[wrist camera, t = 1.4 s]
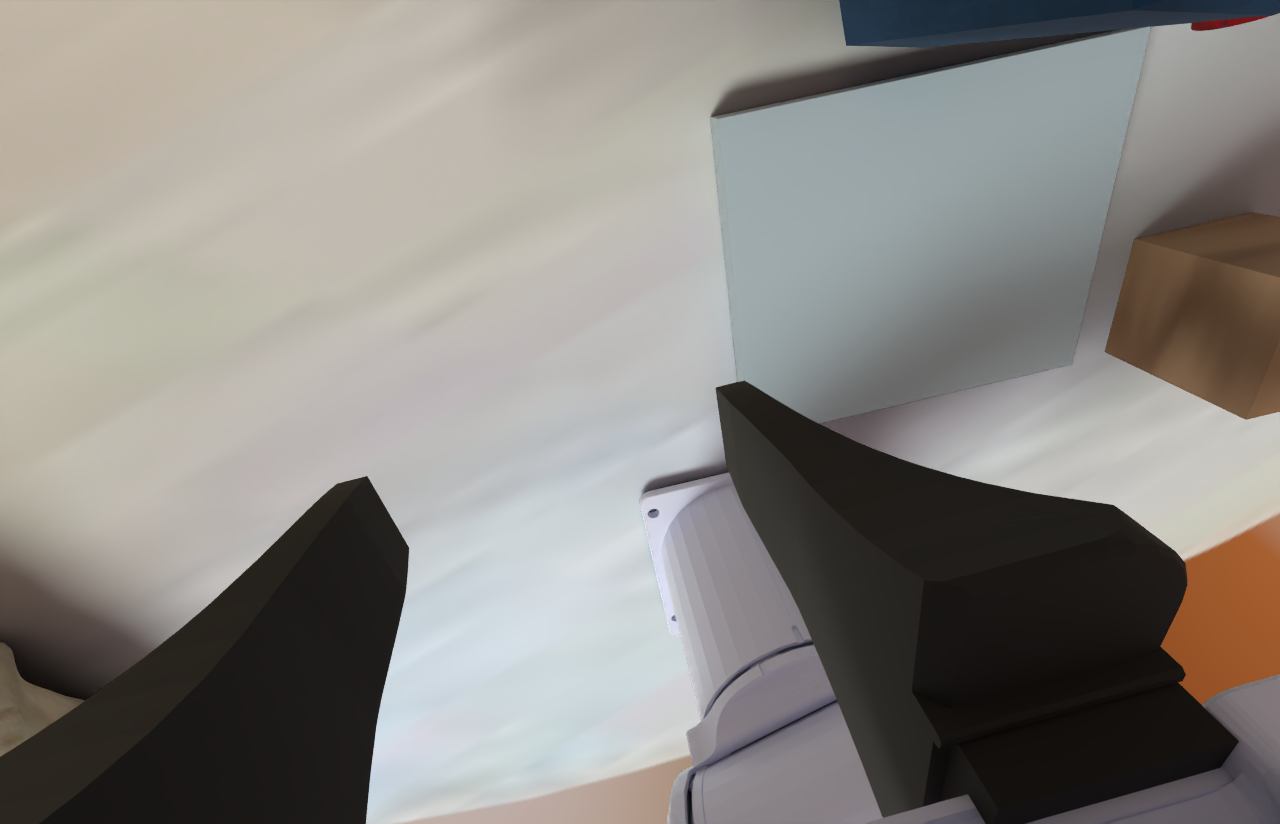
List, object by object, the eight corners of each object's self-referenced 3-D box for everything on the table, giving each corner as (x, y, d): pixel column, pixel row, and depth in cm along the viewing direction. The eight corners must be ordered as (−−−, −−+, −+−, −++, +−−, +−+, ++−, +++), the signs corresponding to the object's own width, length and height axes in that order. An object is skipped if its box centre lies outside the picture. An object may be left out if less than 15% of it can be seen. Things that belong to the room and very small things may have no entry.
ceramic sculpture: (-247, 810, 15) (214, 933, 24) (-1, 563, 23) (287, 724, 31) (-515, 940, 17) (13, 1014, 25) (-200, 667, 24) (129, 795, 32)
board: (1054, 354, 25) (1071, 364, 24) (742, 427, 25) (749, 439, 24) (1123, 28, 19) (1151, 26, 18) (710, 117, 18) (718, 118, 18)
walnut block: (1210, 326, 26) (1378, 387, 20) (1103, 351, 25) (1245, 419, 20) (1251, 212, 23) (1454, 249, 18) (1133, 239, 23) (1304, 283, 18)
